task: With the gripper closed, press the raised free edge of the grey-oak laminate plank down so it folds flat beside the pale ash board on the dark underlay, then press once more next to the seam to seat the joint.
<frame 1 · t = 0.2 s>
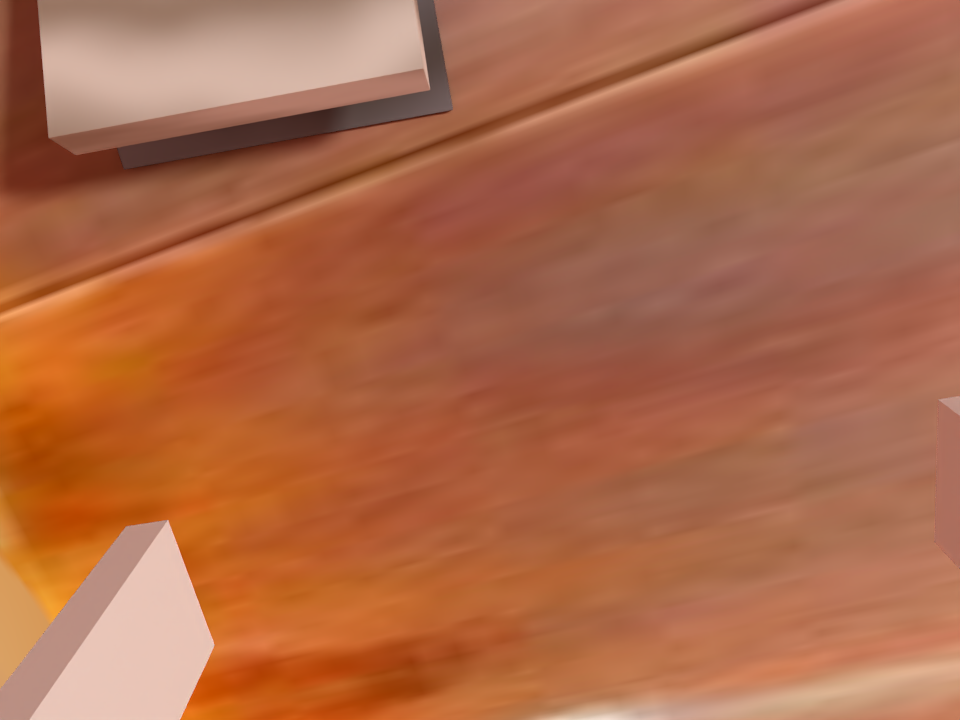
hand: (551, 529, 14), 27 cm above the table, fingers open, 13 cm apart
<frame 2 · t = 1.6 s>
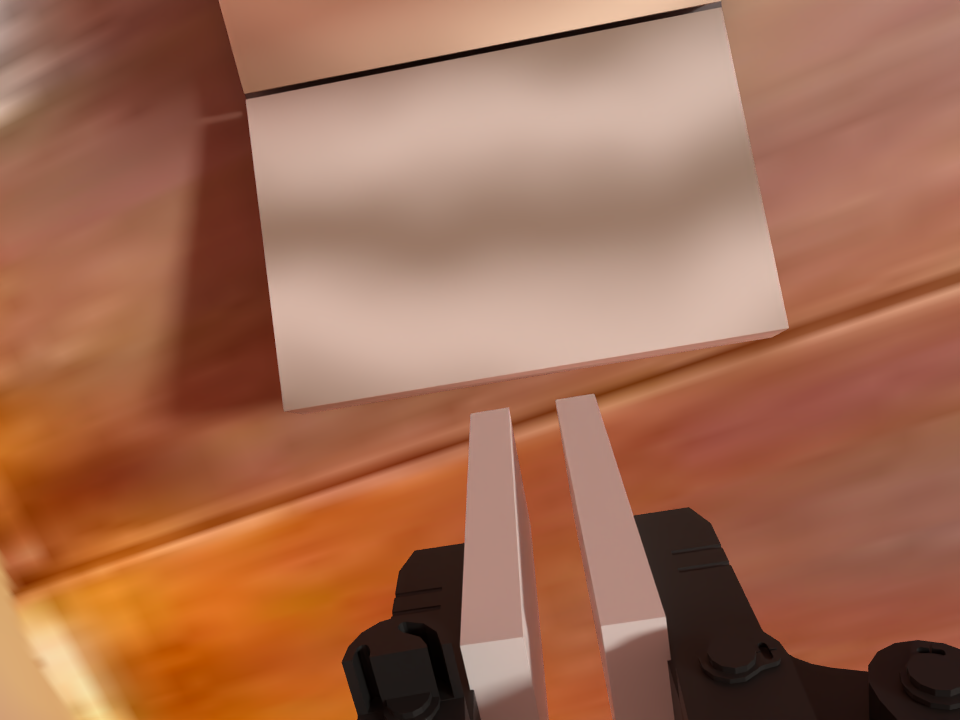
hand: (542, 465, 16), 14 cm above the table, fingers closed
plank: (505, 217, 25), point 4 cm above the table, hinge at 28.0°
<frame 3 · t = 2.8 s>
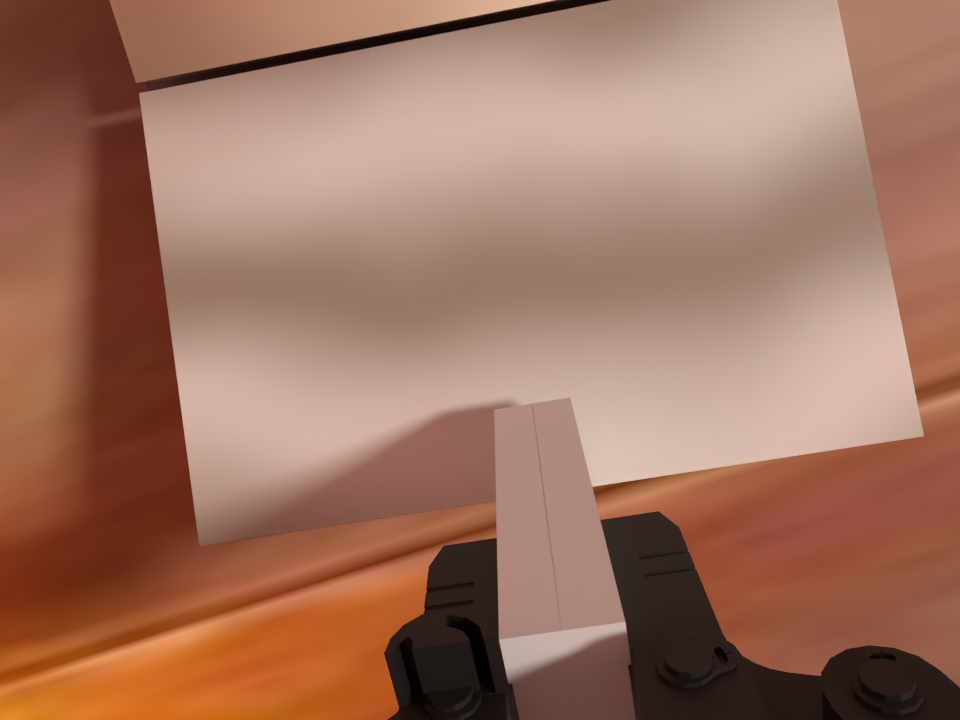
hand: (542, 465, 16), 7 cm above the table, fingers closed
plank: (512, 263, 17), point 3 cm above the table, hinge at 25.3°, touching gripper
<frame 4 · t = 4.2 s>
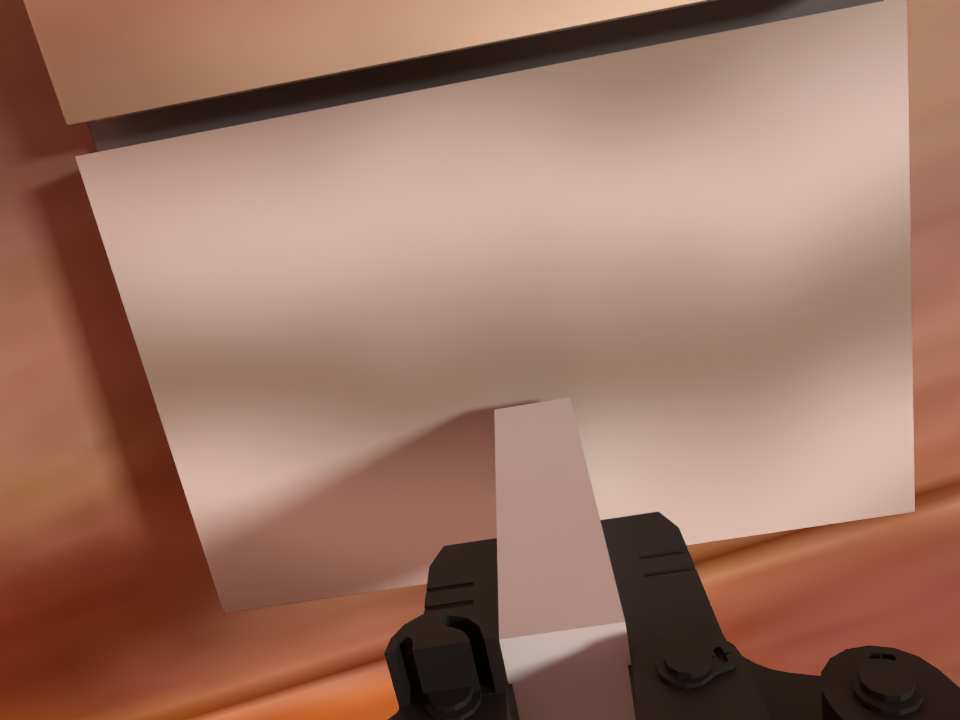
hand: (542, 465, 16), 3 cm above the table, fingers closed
plank: (519, 332, 16), point 2 cm above the table, hinge at 2.8°
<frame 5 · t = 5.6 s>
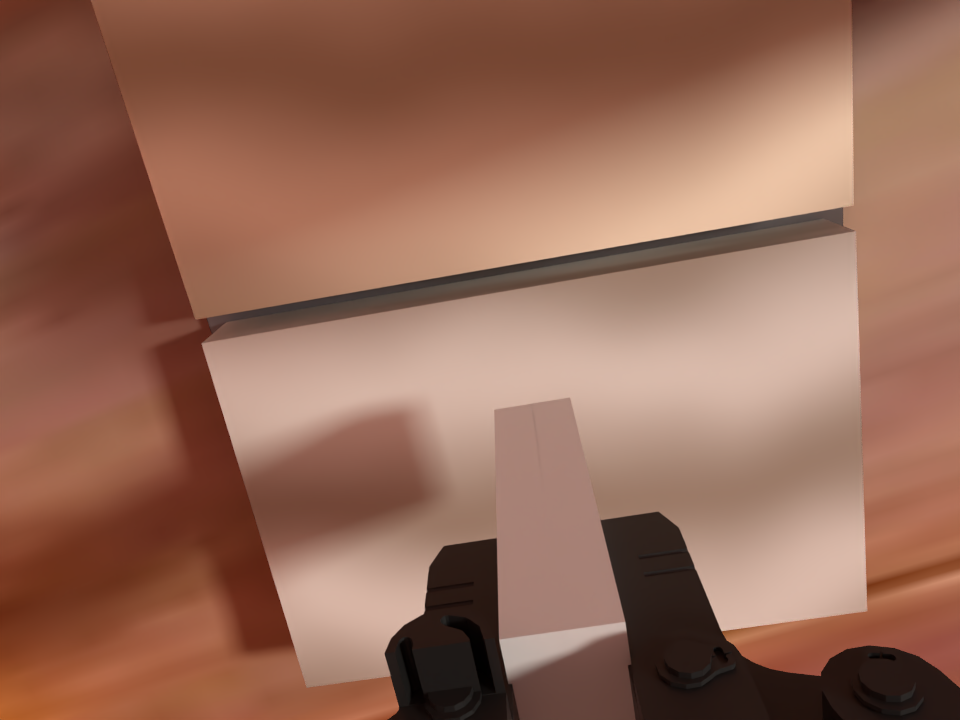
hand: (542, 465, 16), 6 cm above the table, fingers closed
floor board: (475, 29, 18), on the table
plank: (549, 467, 20), point 2 cm above the table, hinge at 2.8°
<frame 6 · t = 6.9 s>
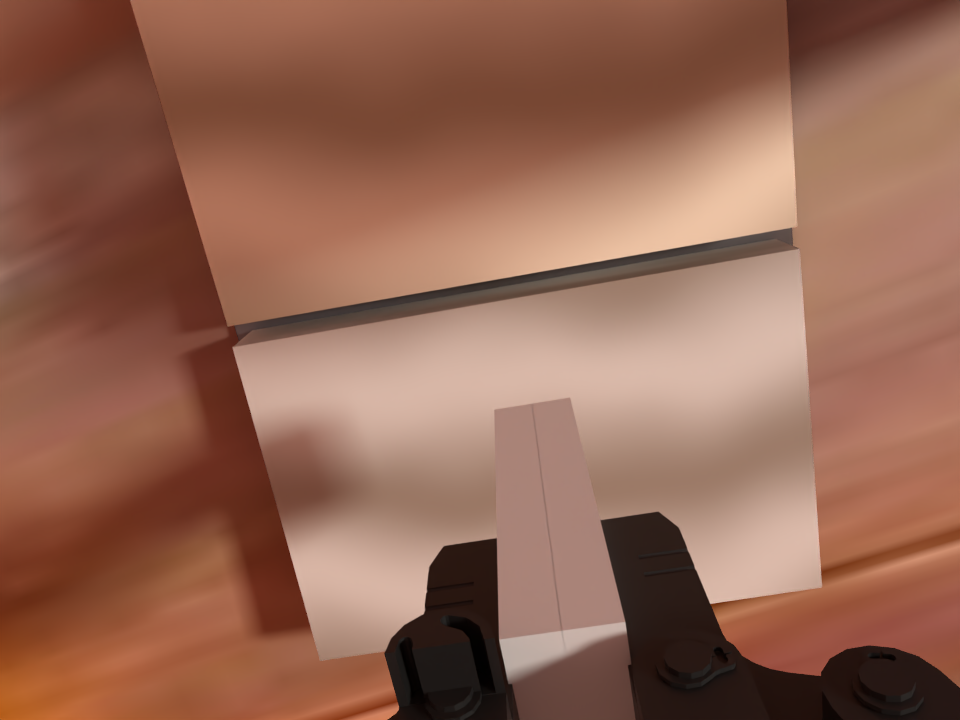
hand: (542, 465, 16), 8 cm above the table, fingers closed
floor board: (472, 77, 21), on the table
plank: (537, 459, 23), point 2 cm above the table, hinge at 2.8°
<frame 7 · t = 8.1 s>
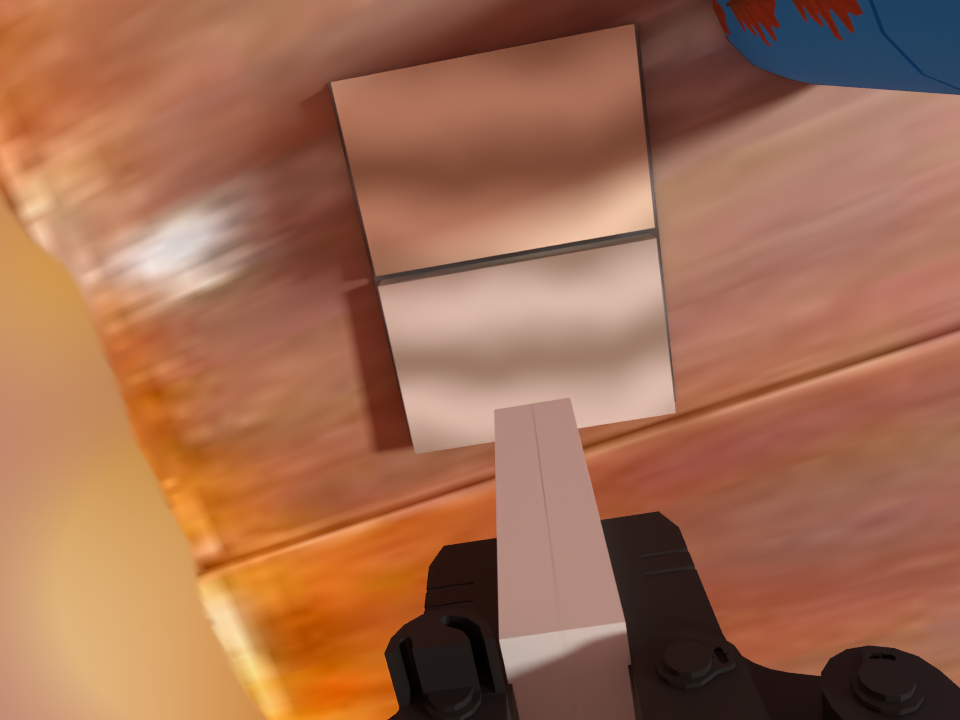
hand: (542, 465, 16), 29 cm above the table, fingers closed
floor board: (497, 152, 42), on the table
plank: (529, 346, 44), point 2 cm above the table, hinge at 2.8°
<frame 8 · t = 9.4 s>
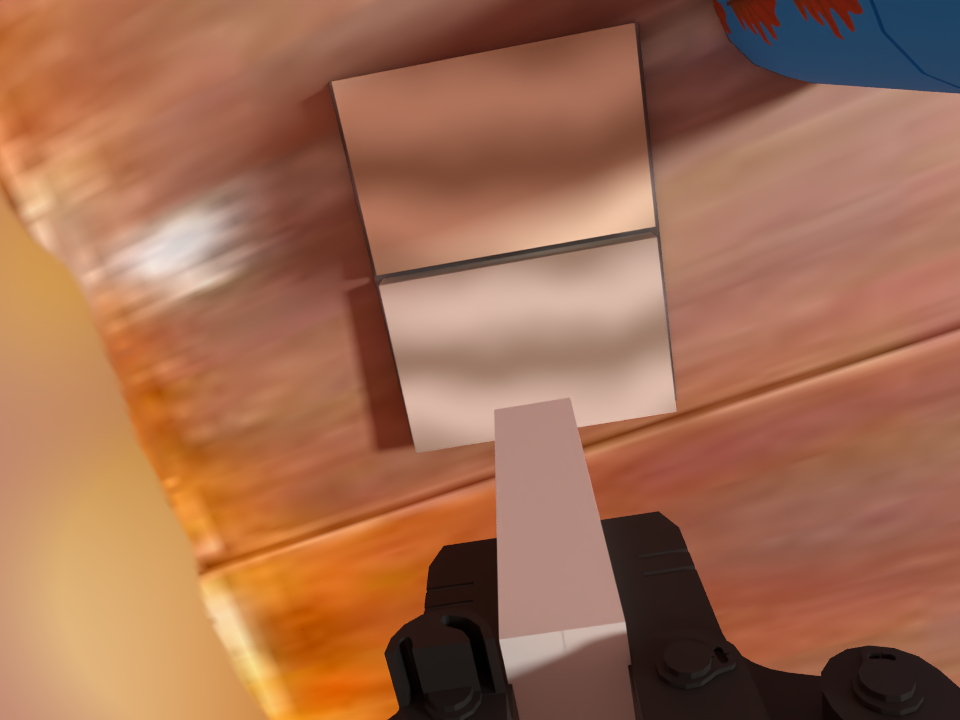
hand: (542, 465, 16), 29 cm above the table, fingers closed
floor board: (497, 151, 42), on the table
plank: (530, 345, 44), point 2 cm above the table, hinge at 2.8°
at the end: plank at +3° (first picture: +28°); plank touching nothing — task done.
